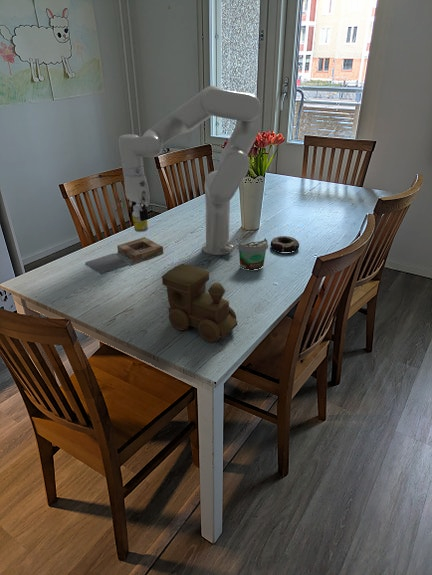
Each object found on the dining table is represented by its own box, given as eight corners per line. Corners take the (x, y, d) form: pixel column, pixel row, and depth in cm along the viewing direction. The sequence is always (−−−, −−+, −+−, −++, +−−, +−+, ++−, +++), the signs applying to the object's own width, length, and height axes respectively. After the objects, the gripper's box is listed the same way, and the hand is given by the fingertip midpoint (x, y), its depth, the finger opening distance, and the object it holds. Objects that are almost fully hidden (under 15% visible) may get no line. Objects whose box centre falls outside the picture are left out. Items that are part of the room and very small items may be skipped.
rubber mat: (129, 264, 158) (129, 263, 157) (100, 274, 151) (100, 273, 150) (113, 254, 165) (113, 253, 165) (85, 263, 158) (85, 262, 158)
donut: (264, 249, 171) (265, 240, 169) (281, 241, 178) (281, 232, 176) (288, 257, 164) (288, 248, 162) (304, 248, 171) (305, 239, 169)
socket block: (163, 253, 166) (162, 246, 165) (135, 263, 159) (134, 255, 157) (145, 243, 175) (144, 237, 173) (118, 252, 167) (117, 245, 166)
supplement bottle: (135, 227, 164) (131, 203, 159) (148, 226, 165) (146, 203, 160) (133, 233, 160) (130, 208, 155) (148, 232, 160) (145, 208, 155)
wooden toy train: (162, 325, 123) (159, 276, 115) (185, 308, 131) (183, 261, 123) (219, 348, 114) (220, 296, 105) (240, 328, 122) (242, 278, 114)
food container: (245, 275, 151) (246, 250, 146) (236, 268, 155) (237, 243, 150) (273, 268, 156) (275, 243, 151) (264, 261, 160) (265, 237, 155)
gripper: (155, 172, 147) (160, 220, 156) (129, 165, 158) (136, 210, 167) (137, 177, 143) (144, 226, 152) (112, 169, 154) (119, 215, 163)
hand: (139, 217), depth 160 cm, fingers closed on supplement bottle, 5 cm apart
